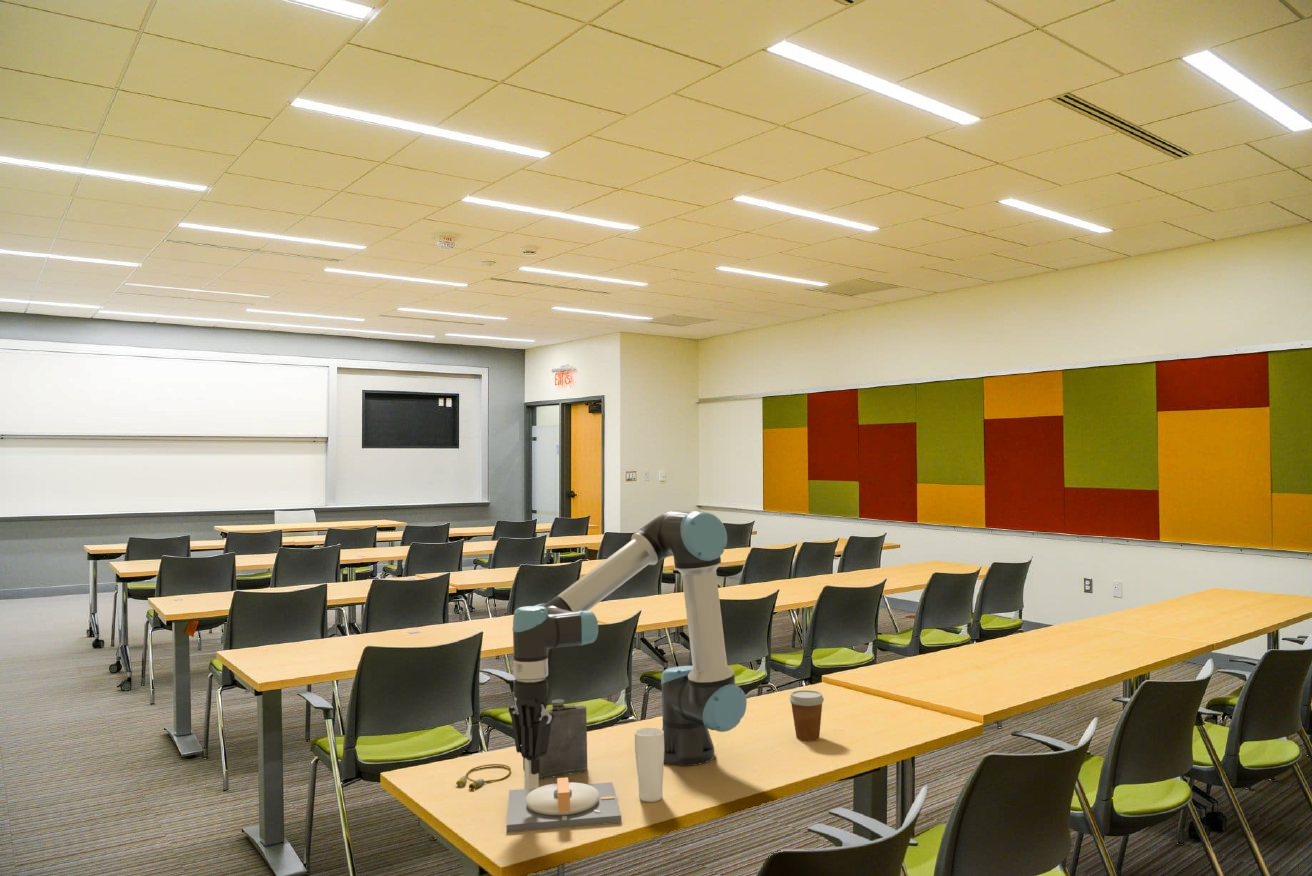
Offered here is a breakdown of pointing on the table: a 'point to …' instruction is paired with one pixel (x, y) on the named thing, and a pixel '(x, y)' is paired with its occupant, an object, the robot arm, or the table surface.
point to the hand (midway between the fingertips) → (531, 787)
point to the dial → (562, 798)
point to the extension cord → (479, 782)
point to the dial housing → (530, 820)
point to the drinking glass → (650, 763)
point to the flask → (565, 741)
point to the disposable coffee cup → (807, 713)
